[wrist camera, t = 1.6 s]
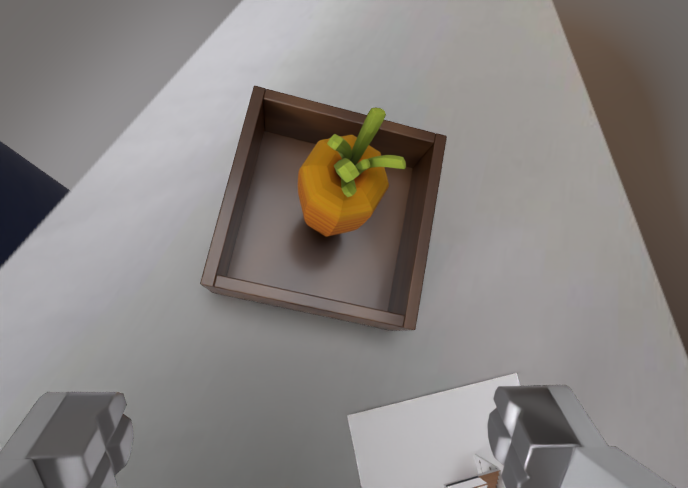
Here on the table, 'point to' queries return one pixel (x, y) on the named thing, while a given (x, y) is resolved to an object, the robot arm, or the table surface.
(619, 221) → the table surface
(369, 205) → the carrot
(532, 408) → the robot arm
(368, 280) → the basket
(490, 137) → the table surface
